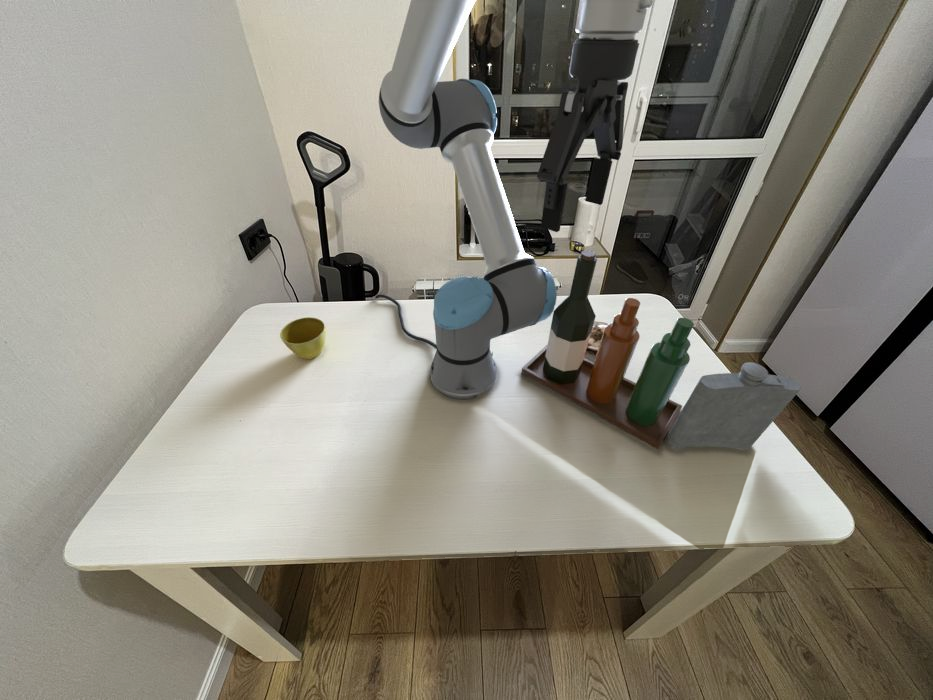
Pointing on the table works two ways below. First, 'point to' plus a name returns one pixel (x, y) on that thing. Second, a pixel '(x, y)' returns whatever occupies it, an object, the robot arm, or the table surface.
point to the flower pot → (304, 337)
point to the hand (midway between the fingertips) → (573, 215)
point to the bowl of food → (595, 337)
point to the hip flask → (732, 408)
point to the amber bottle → (614, 354)
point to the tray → (606, 411)
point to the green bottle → (660, 375)
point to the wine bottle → (571, 326)
